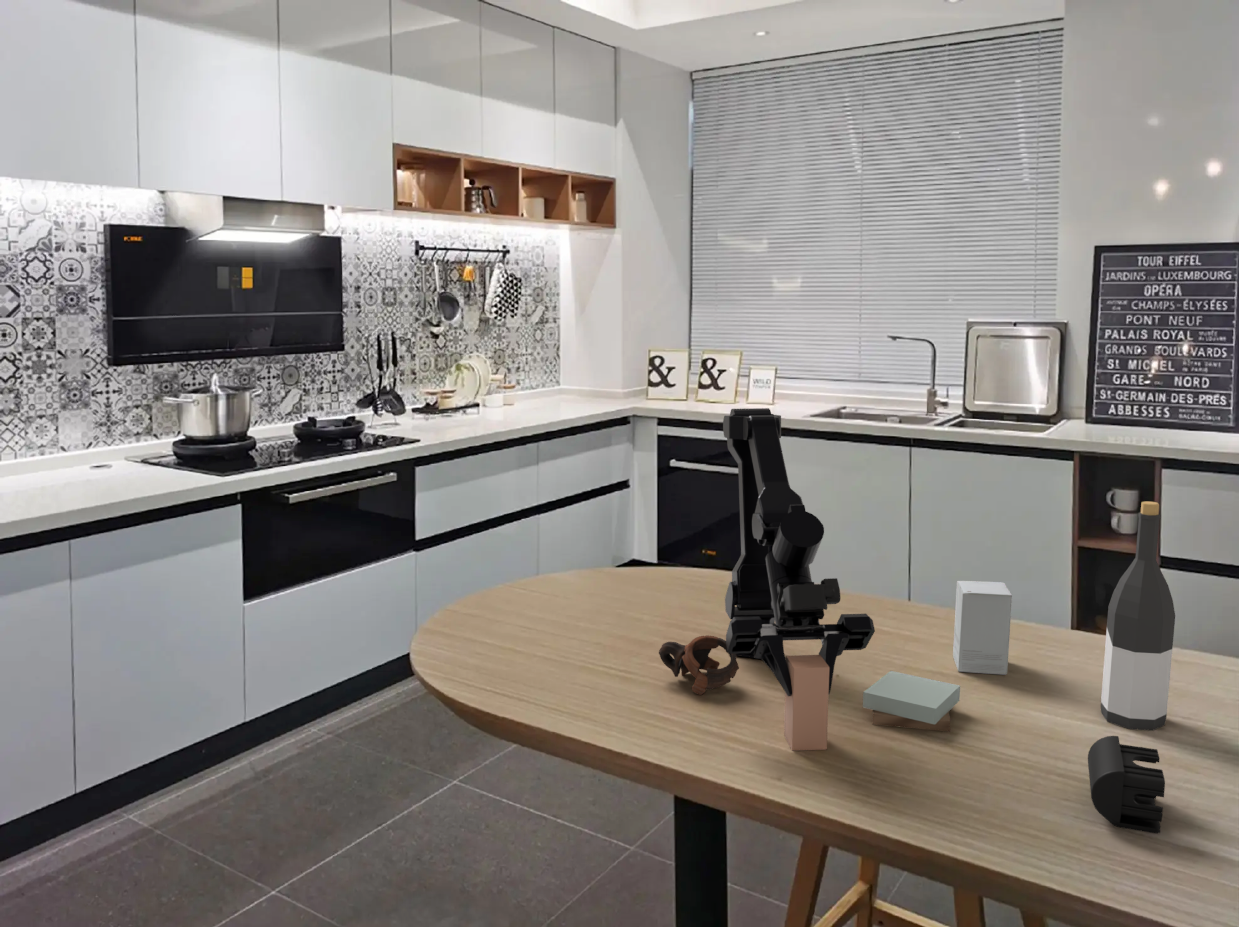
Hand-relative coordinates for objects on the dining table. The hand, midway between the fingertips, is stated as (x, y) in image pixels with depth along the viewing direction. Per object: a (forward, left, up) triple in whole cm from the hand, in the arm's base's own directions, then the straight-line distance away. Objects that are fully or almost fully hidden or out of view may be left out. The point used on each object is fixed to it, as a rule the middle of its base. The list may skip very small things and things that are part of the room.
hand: (809, 694), depth 134 cm
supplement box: (+17, +39, -7) cm, 44 cm away
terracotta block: (-1, +1, -7) cm, 7 cm away
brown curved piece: (-20, +15, -7) cm, 26 cm away
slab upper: (+11, +16, -6) cm, 20 cm away
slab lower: (+10, +16, -8) cm, 21 cm away
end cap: (+36, -2, -7) cm, 37 cm away
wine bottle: (+38, +26, -7) cm, 47 cm away
